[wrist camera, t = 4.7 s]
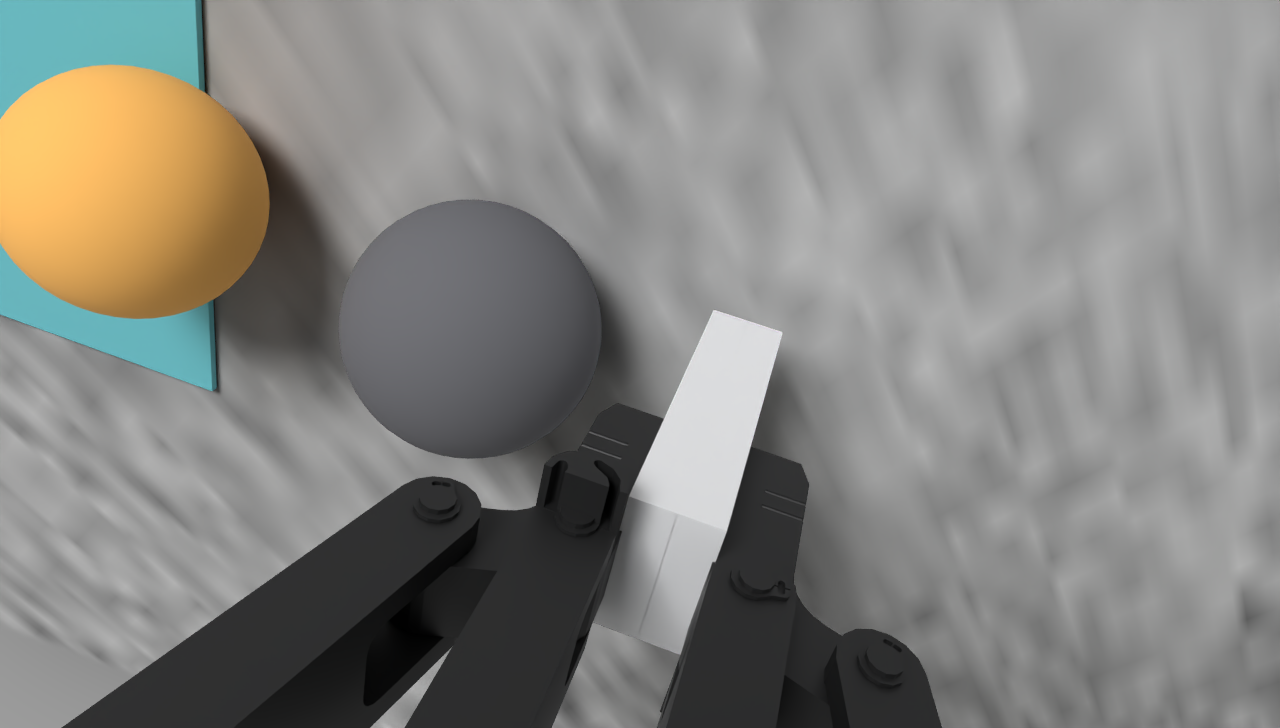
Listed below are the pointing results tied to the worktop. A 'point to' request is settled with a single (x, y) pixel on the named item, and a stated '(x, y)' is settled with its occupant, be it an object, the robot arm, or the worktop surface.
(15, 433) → the worktop surface
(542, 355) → the gray ball
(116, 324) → the teal mark
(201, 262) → the orange ball
